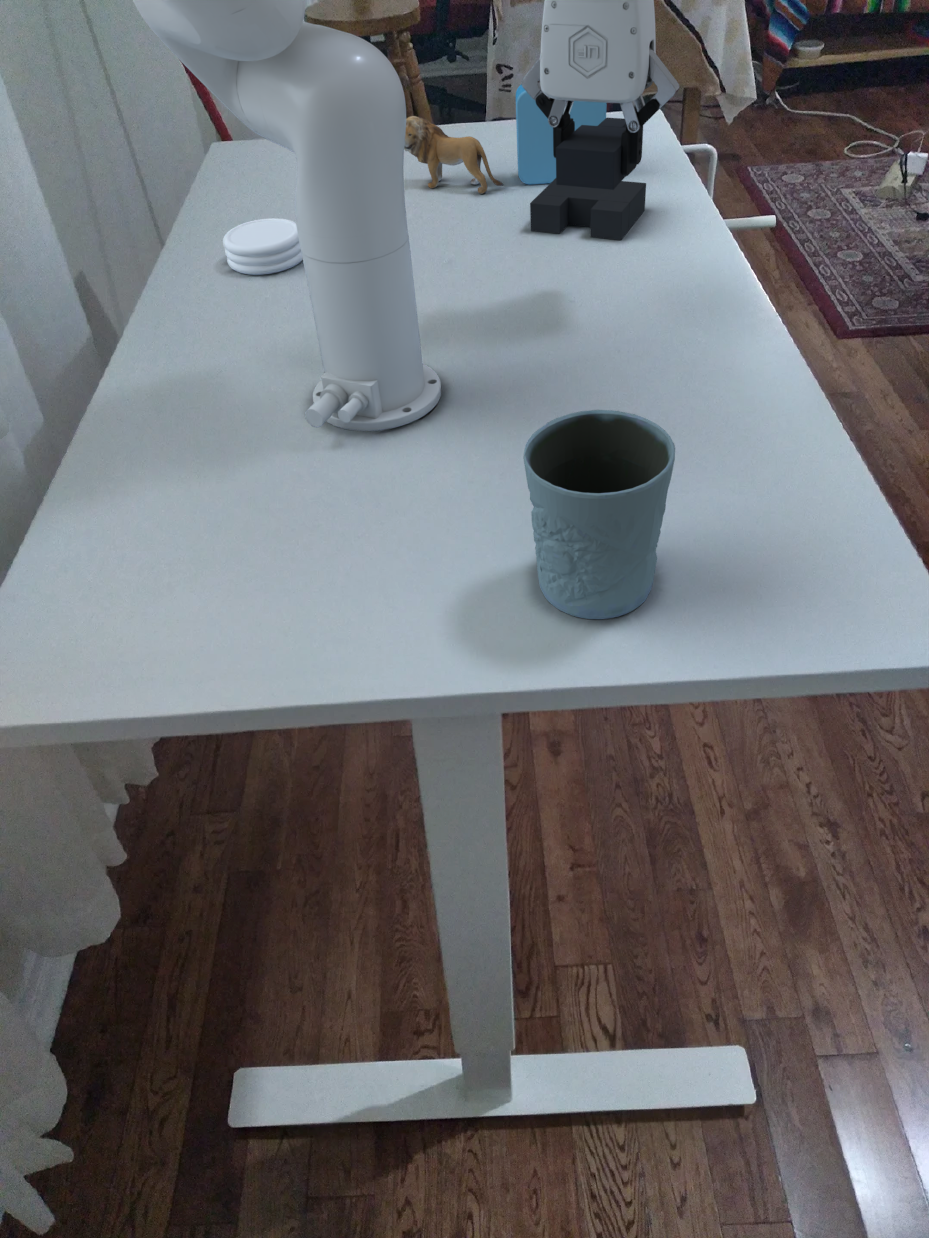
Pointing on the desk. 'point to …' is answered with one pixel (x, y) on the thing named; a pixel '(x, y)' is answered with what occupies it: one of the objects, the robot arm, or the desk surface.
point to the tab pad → (592, 156)
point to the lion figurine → (445, 151)
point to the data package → (545, 135)
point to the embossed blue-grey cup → (598, 509)
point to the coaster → (263, 246)
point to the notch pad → (589, 209)
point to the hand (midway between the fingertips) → (596, 166)
